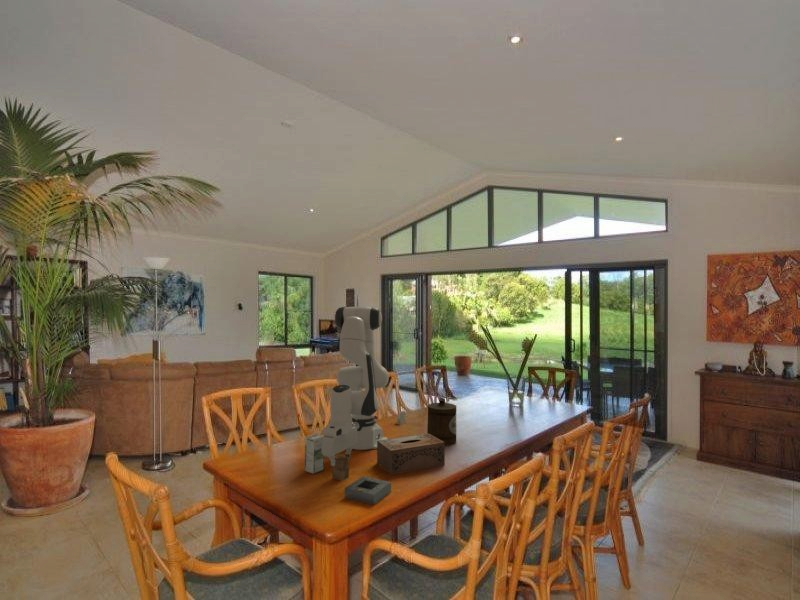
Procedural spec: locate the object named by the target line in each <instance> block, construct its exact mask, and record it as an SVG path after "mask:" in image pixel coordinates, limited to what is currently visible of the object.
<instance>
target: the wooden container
mask: <svg viewBox="0 0 800 600" xmlns="http://www.w3.org/2000/svg"><path fill="white" fill-rule="evenodd" d="M426 428H427V429H426V430H427V431H426V432H427V433H426V434H428V433H429V434H430V435H432V436H434V437H436V438H438V439H440V440H442V441H443V442H445V447H446V446H451V445H454V444H456V443H457V405H456V404H453V403H449V402H446V399H445V398H444V397H440V398H439V399H438V402H432V403H429V404H428V405H427V426H426Z"/></svg>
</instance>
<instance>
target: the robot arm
mask: <svg viewBox="0 0 800 600" xmlns="http://www.w3.org/2000/svg"><path fill="white" fill-rule="evenodd" d="M382 321H383V315H382V312H381V310H380V308H379V307H376V306H372V307H371V306H363V305H361V306H360V305H358V306H347V307H346V306H340V307H338V309H336V310H335V313H334V323H335V326H336V327H337V328H338V329H340V330H341V332H340V338H339V353H340V355H341V357H342V358H343V359H344V360H346V361H347V362H350V363H352V364H354V365H356V366H354V365H353V366H352V365H350V366H345V367H340V369H339V370H338V371H337V373H336V382H337V384H338V385H336V386H334V387H332V388H331V392H330V399H329V410H330V418H329V423H328V424H327V425H326V426H325V427H324V428H323V429H322V430H321V435H322V436H323V438H322V454H323V456H324V458H326V457H327V458H328V459H329V460H330V466H332V467H333V466H335V465H336V464H337V461H336V460H335V457H336V455H339V454H340V453H341V452H344V451H345V453H344V455H345V456H347V457H349V459H350V458H351V453H352V450H360V451H362V450H363V451H364V450H365V451H366V450H373V449H375V450H377V441H379V440H386V439H389V438H388V437H387V436H384V431H383V428H382V427H381V426H380V425H378V424H377V421H376V420H378V419H379V414H378V415H377V414H376V415H375V413H376V412H377V411H378V407H379V399H378V395H377V389H382V388H384V387H386V386H387V385H388V383H389V380H390V379H389V378H390V375H389V371H388V370H387V369H386V368H385V367H384V366H383V365H381V364H380V362H379V361H378V360H377V357H376V354H375V347H374V331H375V330H377V329H379V328H380V327H381V324H382ZM363 389H364V390H363Z"/></svg>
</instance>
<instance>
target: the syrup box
mask: <svg viewBox="0 0 800 600" xmlns="http://www.w3.org/2000/svg"><path fill="white" fill-rule="evenodd" d="M323 436H324V435H322V434H320V433H313V434H311V435H307V436H305V438H304V439H305V441H304V442H305V446H304V471H305V472H308V473H310V474H316V473H319V472H322V471H324V470H325V456H323V454H322V438H323Z"/></svg>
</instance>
